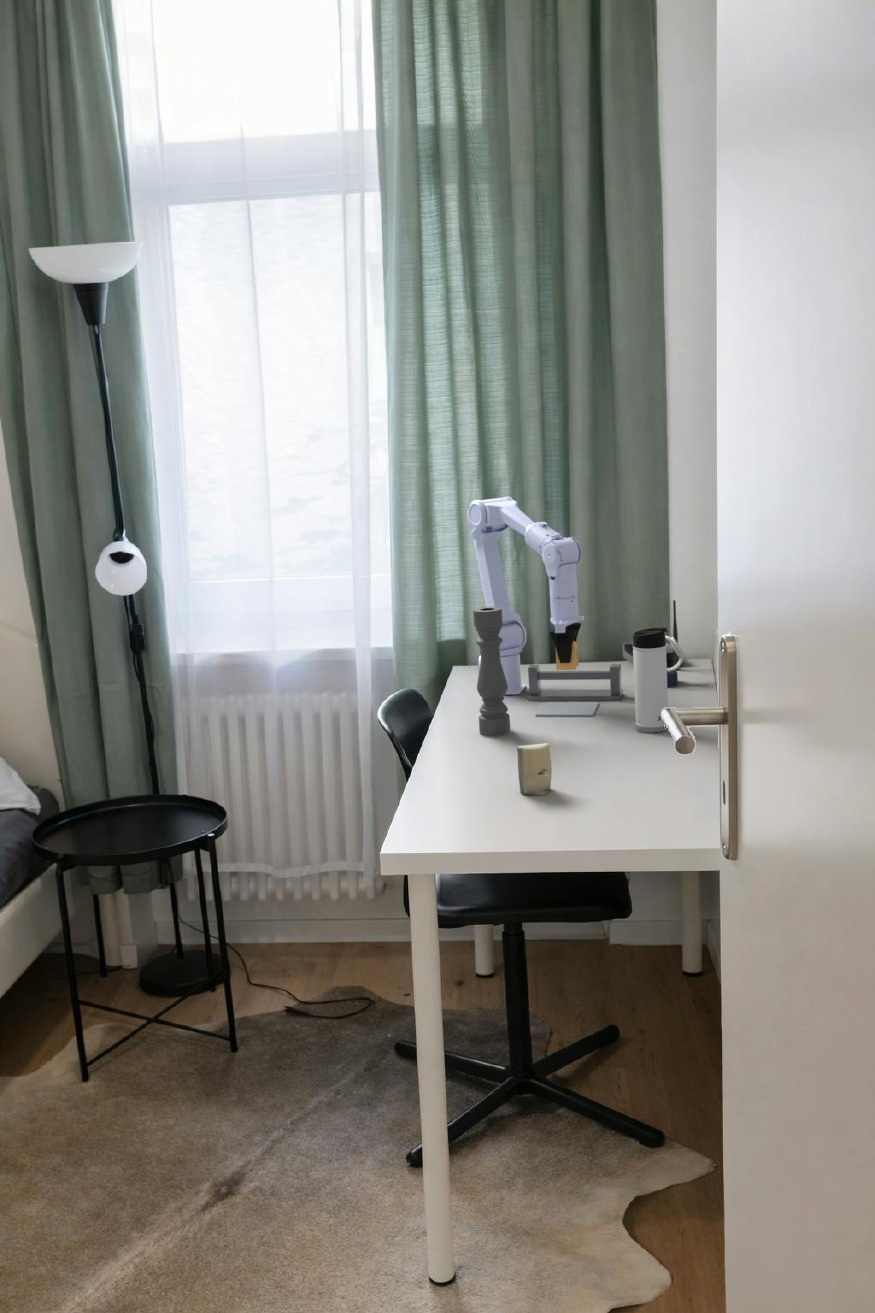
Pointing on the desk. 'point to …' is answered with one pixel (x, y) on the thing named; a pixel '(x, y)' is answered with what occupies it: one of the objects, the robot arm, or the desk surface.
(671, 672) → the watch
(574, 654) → the clip
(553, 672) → the rail stand
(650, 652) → the travel mug
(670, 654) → the wifi router
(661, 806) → the desk surface
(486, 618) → the candle holder
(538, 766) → the beige tall block
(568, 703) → the mat
